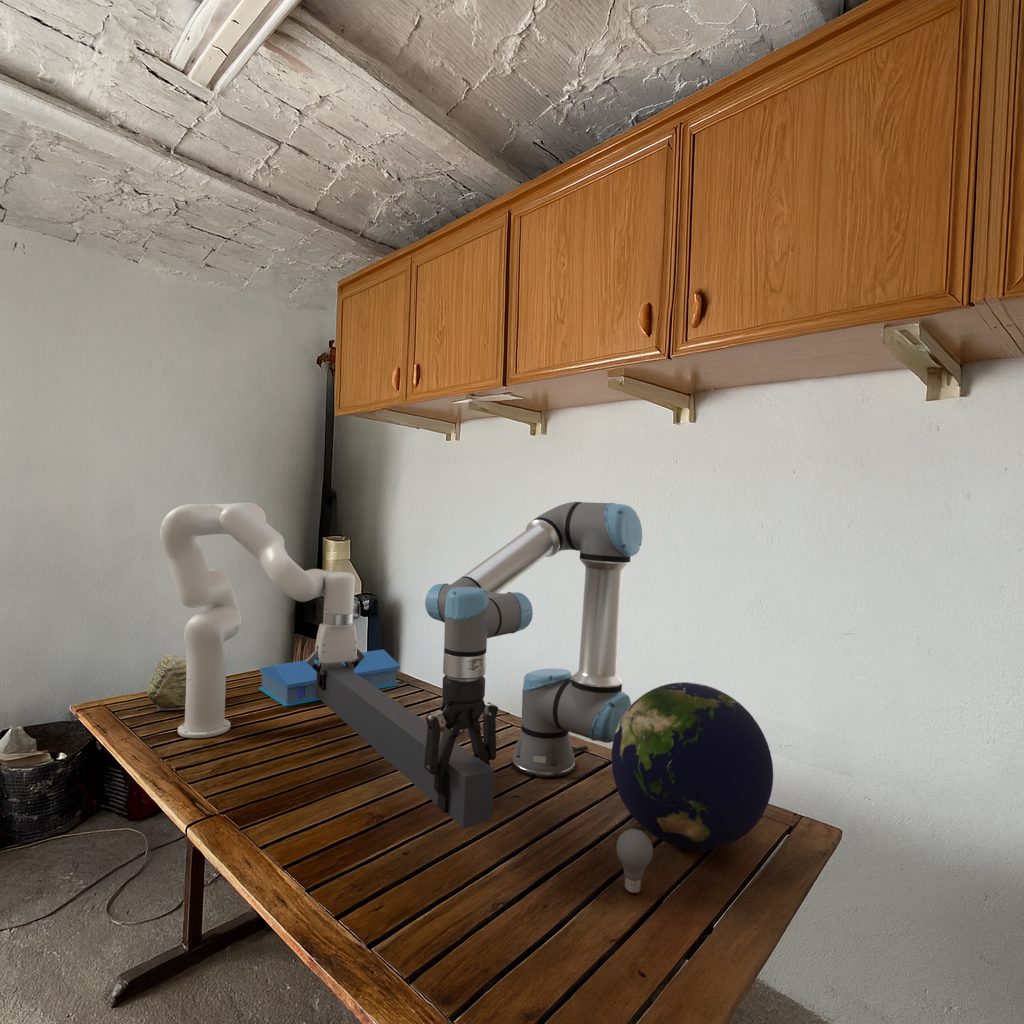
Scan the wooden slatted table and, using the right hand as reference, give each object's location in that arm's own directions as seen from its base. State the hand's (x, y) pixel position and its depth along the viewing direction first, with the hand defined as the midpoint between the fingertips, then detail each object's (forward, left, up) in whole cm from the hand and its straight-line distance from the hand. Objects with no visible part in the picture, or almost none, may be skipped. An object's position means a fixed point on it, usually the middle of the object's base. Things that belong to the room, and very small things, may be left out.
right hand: (459, 804), depth 113 cm
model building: (-64, -86, -10) cm, 108 cm away
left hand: (-33, -57, +3) cm, 66 cm away
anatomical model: (-52, -37, -10) cm, 64 cm away
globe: (-28, +35, -10) cm, 46 cm away
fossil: (-28, -109, -10) cm, 113 cm away
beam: (-16, -29, -1) cm, 33 cm away
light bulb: (-7, +30, -10) cm, 32 cm away
